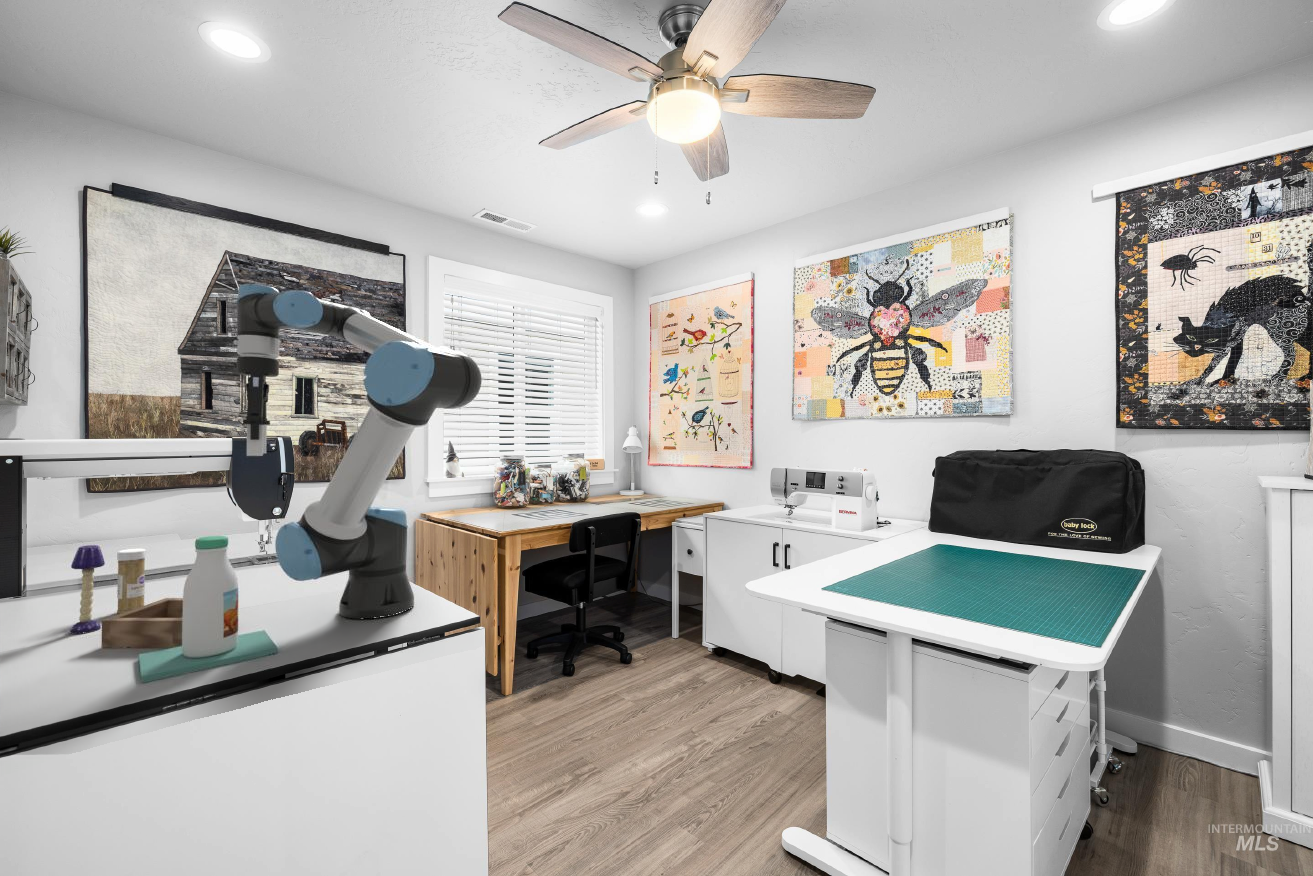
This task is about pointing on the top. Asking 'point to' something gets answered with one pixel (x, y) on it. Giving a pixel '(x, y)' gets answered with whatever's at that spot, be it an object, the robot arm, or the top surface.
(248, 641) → the green mat
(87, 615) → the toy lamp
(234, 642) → the milk bottle
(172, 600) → the walnut holder
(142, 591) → the sprinkles bottle
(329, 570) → the robot arm
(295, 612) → the top surface
